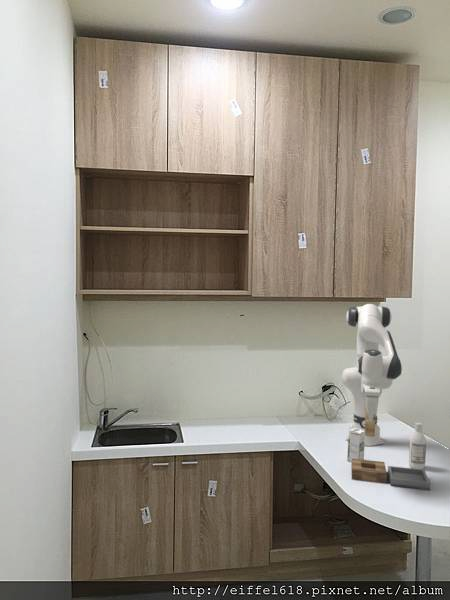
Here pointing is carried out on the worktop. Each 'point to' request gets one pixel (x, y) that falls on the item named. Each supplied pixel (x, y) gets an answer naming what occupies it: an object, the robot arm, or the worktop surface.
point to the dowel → (369, 425)
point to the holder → (368, 470)
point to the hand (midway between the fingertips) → (370, 419)
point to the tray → (408, 478)
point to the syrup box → (356, 444)
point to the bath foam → (417, 448)
